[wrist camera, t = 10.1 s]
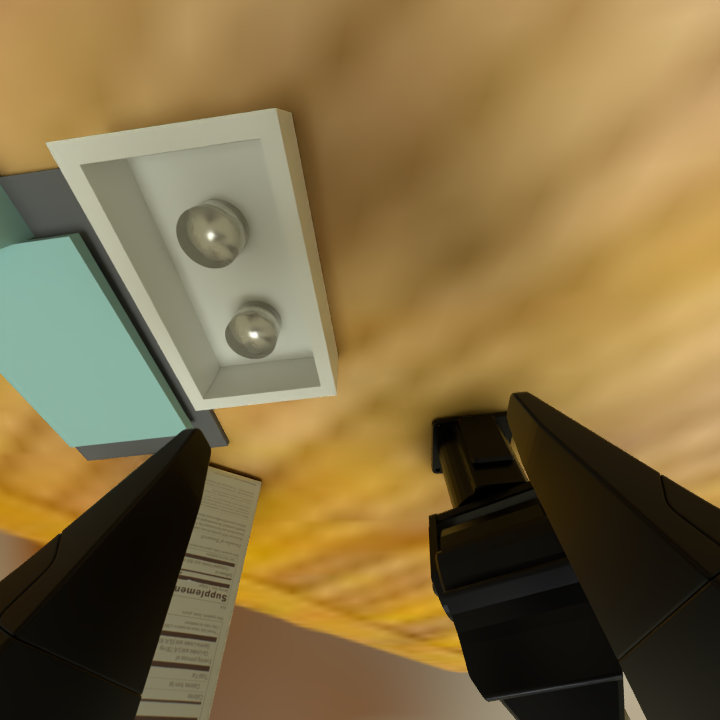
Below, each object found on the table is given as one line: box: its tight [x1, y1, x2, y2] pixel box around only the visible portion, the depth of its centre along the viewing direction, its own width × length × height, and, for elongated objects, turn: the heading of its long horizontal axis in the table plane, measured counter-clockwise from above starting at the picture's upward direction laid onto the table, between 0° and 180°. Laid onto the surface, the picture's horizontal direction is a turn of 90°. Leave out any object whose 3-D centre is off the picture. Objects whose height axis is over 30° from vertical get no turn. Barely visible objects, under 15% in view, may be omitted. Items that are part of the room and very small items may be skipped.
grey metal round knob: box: [176, 199, 249, 269], centre depth 16 cm, size 3×3×2 cm
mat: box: [0, 168, 229, 461], centre depth 22 cm, size 20×12×1 cm, turn 7°
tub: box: [46, 108, 338, 411], centre depth 17 cm, size 14×9×4 cm, turn 7°
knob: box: [225, 300, 282, 359], centre depth 19 cm, size 3×3×2 cm
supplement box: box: [135, 466, 262, 720], centre depth 24 cm, size 10×9×17 cm
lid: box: [0, 185, 193, 447], centre depth 19 cm, size 18×9×5 cm, turn 7°
